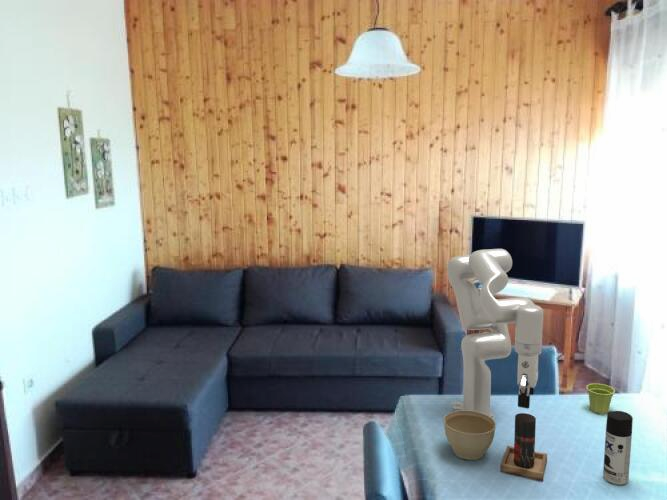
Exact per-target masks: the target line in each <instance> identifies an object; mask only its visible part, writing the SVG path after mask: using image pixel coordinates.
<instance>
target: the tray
mask: <svg viewBox="0 0 667 500" xmlns="http://www.w3.org/2000/svg"><path fill="white" fill-rule="evenodd" d="M547 462H548V453H544V452H541V451H536V450H535V455H534V467H533V468H530V469H526V468H522V467H517V466H516V465H515V464H514V446H512V445H506V448H505V451H504V454H503V457H502V460H501V462H500V473H503V472H504V473H503V474H507V473H508V475H512V474H513V475H512V476H517V477H522V478H526V479H530V480H534V481H538V482H544V477H545V473H546V467H547Z"/></svg>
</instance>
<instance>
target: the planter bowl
mask: <svg viewBox="0 0 667 500" xmlns="http://www.w3.org/2000/svg"><path fill="white" fill-rule="evenodd" d="M443 424H444V432H445V433H444V434H445V436H446V439H447V441H448V443H449V445H450V447H451V448H452V449H453V450H452V451H453V453H454V454H455V455H456V456H457V457H459V458H460V459H464V460H466V461H467V460H468V461H477V460H480V459H482V458H483V457H484V456H485V453H486V451H488V449H489V448H490V447H491V445H492V443H493V441H494V438H495V435H496V434H495V433H496V429H497V423H496V421H495V419H494V420H493V419H492V418H491V417H489V416H488V415H486V414H483V413H480V412H476V411H469V410H453V411H451V412H449V413H447V414H445V415H444V417H443Z"/></svg>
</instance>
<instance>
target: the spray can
mask: <svg viewBox="0 0 667 500" xmlns="http://www.w3.org/2000/svg"><path fill="white" fill-rule="evenodd" d="M633 421H634V418H633V416H632V414H630V413H628V412H625V411H622V410H611V411H608V413H607V414H606V424H605V437H604V438H605V439H604V440H605V441H604V455H603V470H602V476H603V478H604V480H605V481H606V482H608V483H610V484H612V485H616V486H625V485H627V484H628V482H629V478H630V466H631V465H630V464H631V451H632V450H631V449H632V438H633Z"/></svg>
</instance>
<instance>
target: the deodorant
mask: <svg viewBox="0 0 667 500" xmlns="http://www.w3.org/2000/svg"><path fill="white" fill-rule="evenodd" d="M536 419H537V417H536V416H535V415H533V414H530V413H525V412H524V413H523V412H521V413H516V414H515V416H514V437H513V439H514V440H513V441H514V443H513V447H514V464H515V465H516V466H517V467H522V468H526V469H530V468H533V467H534V455H535V451H536V446H535V445H536V426H537V425H536Z"/></svg>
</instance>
